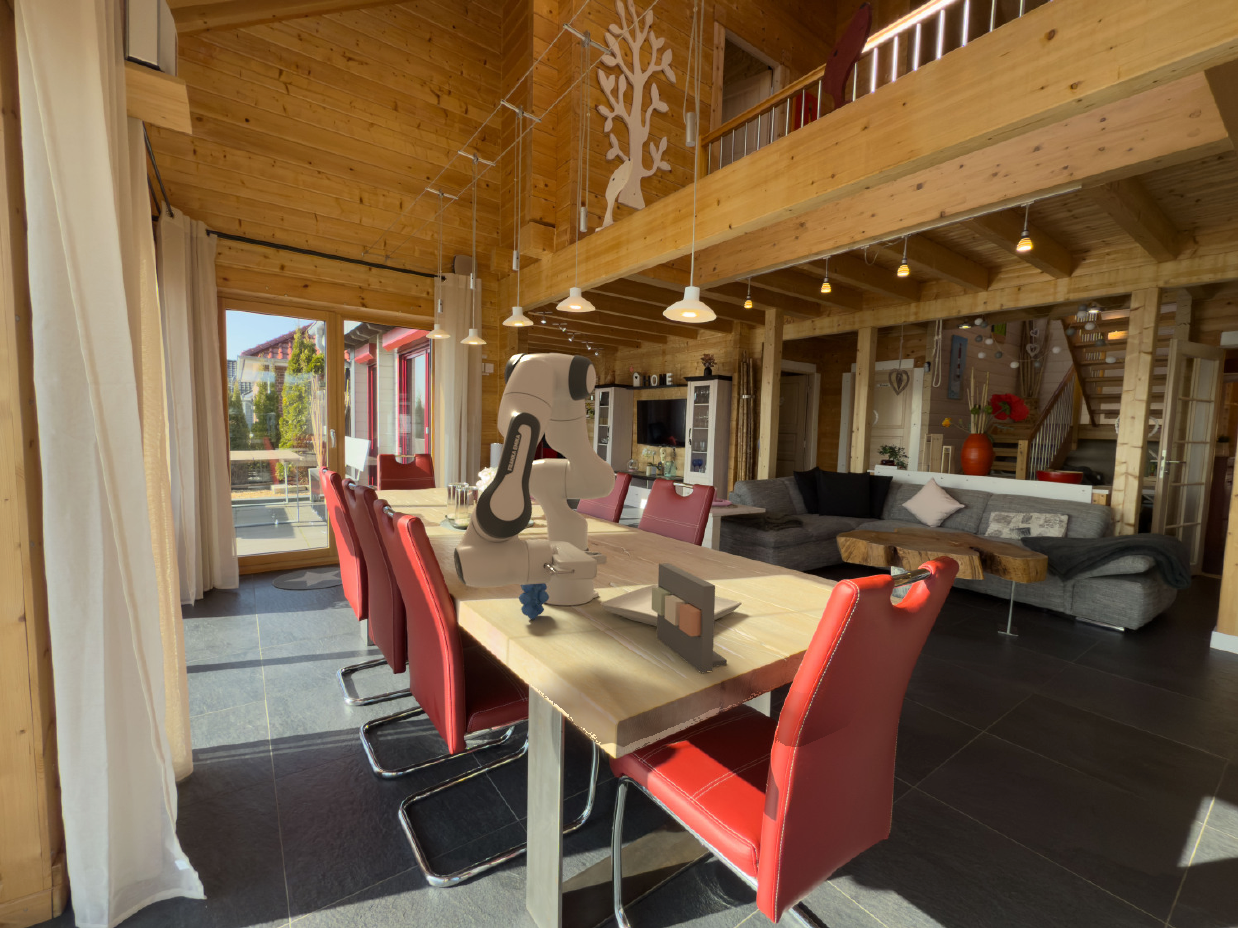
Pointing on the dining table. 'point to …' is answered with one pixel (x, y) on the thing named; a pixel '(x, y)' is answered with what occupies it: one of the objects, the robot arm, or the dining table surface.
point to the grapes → (533, 599)
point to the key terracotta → (690, 620)
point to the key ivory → (673, 608)
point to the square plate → (640, 606)
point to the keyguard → (702, 597)
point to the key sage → (659, 600)
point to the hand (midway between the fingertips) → (603, 557)
